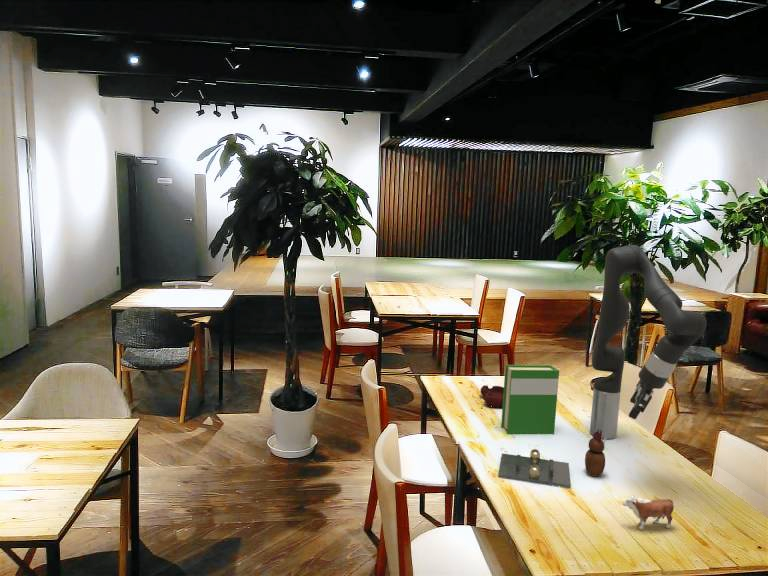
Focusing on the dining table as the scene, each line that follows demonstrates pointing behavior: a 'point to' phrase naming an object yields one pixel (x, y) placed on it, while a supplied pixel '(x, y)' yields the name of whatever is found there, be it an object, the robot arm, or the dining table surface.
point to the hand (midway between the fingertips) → (632, 409)
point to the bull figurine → (650, 509)
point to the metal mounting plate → (535, 469)
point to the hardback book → (530, 399)
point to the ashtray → (493, 395)
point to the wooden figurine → (595, 455)
